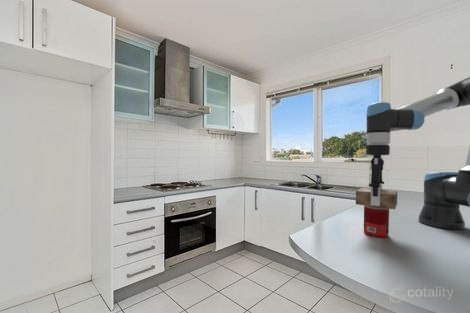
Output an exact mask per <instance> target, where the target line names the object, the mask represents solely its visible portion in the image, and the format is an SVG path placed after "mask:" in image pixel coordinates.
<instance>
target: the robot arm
mask: <svg viewBox="0 0 470 313" xmlns="http://www.w3.org/2000/svg"><path fill="white" fill-rule="evenodd" d="M391 105H392V104H391V103H390V102H385V101H383V102H382V101H379V102H374V103H371V104H369V105H368V106H367V108H366V115H365V116H366V136H364V139H366V144H367V145H366V146H365V154H366V155H367V156H370V155H371V156H373V157H372V158H371V160H370V165H371V166H370V170H371V175H370V176H371V177H370V183H369V184H368V187H369V188H370V189H371V205H375V206H380V190H383V185H385V181H383V171H384V164H385V160H384V159H383V158H382V156H389V155H390V153H391V150H390V149H391V148H390V145H389V144H390V143H391V132H396V131H397V132H398V131H404V130H405V131H412V130H413V131H415V130H418V129H420V128H421V127H423V125H424V123H425V117H428V116H430V115H433V114H435V113H439V112H442V111H444V110H447V111H449V110H454V109H456V108H459V107H465V106H470V76H469V77H467V78H464V79H462V80H460V81H458V82H455V83H454V84H451V85H450V86H447V87H444V88H442V89H439V91H438V92H437V93H435V94H432V95H430V96H427V97H425V98H422V99H420V100H416V101H414V102H412V103H410V104H406V105H404V106H401V107H399V108H392V107H391ZM460 206H462V207H463V206H464V207H467V208H470V145H469V146H468V152H467V157H466V160H465V166H464V167H462V168H460V169H458V171H441V172H440V171H439V172H438V171H436V172H427V173H426V174H425V175H424V178H423V206H422V208H421V210H420V212H419V215H418V219H417V220H418V222H419V223H422V225H426V226H430V227H434V228H440V229H446V230H456V231H457V230H458V231H461V230H465V229H466V223H465V220H464V217H463V215H462V213H461V210H460Z"/></svg>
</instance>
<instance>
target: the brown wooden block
mask: <svg viewBox="0 0 470 313" xmlns="http://www.w3.org/2000/svg"><path fill="white" fill-rule="evenodd" d="M355 205H358V206H359V205H360V206H364V205H366V206H373V207H380V208H388V209H389V210H396V208H397V205H398V190H389V189H382V190H380V206H375V205H371V188H370V187H369V188H366V187H360V188H358V189H357V190H355Z"/></svg>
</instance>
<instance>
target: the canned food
mask: <svg viewBox="0 0 470 313" xmlns="http://www.w3.org/2000/svg"><path fill="white" fill-rule="evenodd" d="M389 230H390V209H388V208H380V207H373V206H366V205H363V233H364V234H365V235H367V236H369V237H372V238H377V239H386V238H388V237H389V232H390V231H389Z"/></svg>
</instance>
